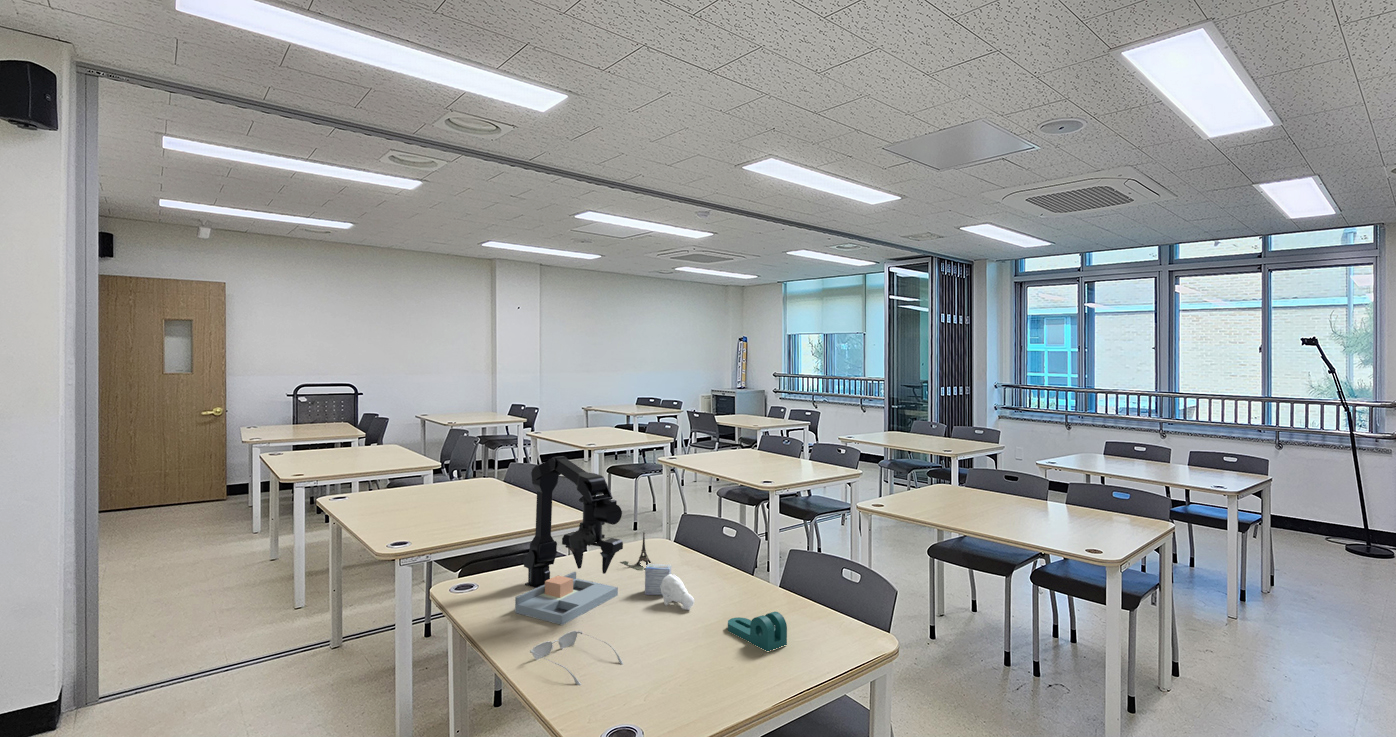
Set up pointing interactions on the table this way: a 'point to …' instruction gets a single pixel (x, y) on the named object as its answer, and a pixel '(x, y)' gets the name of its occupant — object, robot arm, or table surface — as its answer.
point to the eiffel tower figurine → (640, 558)
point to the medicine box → (655, 578)
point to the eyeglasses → (564, 642)
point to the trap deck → (564, 601)
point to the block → (558, 586)
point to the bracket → (761, 630)
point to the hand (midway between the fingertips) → (591, 570)
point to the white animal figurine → (676, 591)
